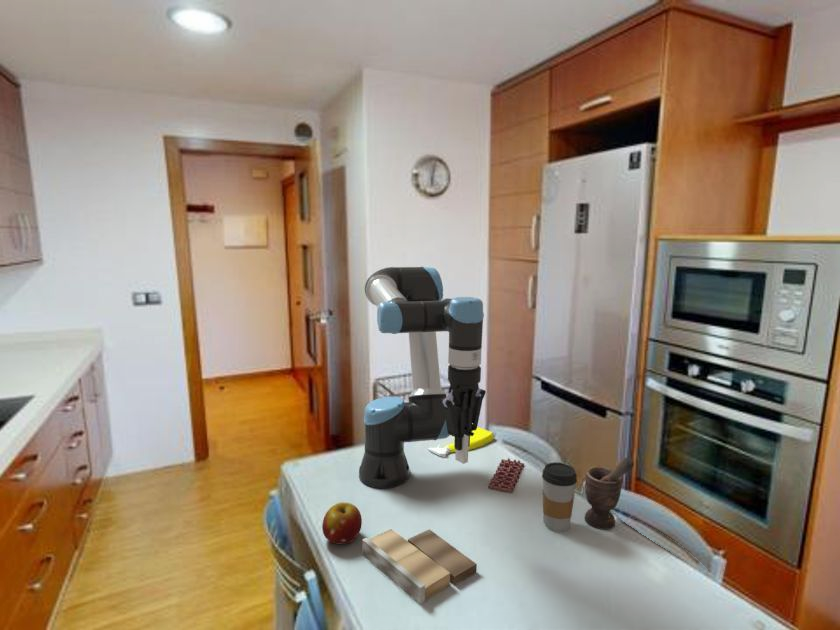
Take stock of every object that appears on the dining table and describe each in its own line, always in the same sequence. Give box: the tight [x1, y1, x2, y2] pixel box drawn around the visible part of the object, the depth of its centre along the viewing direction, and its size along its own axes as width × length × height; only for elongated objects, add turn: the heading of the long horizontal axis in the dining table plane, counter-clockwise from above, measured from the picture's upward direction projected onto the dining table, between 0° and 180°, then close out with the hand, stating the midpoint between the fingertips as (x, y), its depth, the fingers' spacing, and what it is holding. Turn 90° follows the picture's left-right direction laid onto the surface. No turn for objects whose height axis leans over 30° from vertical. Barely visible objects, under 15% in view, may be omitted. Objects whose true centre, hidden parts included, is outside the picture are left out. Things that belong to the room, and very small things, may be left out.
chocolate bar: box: [487, 457, 525, 494], centre depth 148 cm, size 7×19×2 cm, turn 158°
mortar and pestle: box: [584, 456, 635, 530], centre depth 122 cm, size 12×9×20 cm
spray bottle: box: [427, 426, 495, 458], centre depth 169 cm, size 3×11×24 cm
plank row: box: [361, 528, 451, 605], centre depth 106 cm, size 20×8×4 cm, turn 41°
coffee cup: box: [541, 462, 578, 533], centre depth 122 cm, size 8×8×15 cm
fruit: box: [321, 501, 363, 545], centre depth 116 cm, size 10×9×8 cm
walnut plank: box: [407, 528, 478, 587], centre depth 110 cm, size 16×6×2 cm, turn 39°
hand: (461, 460), depth 116 cm, fingers closed
